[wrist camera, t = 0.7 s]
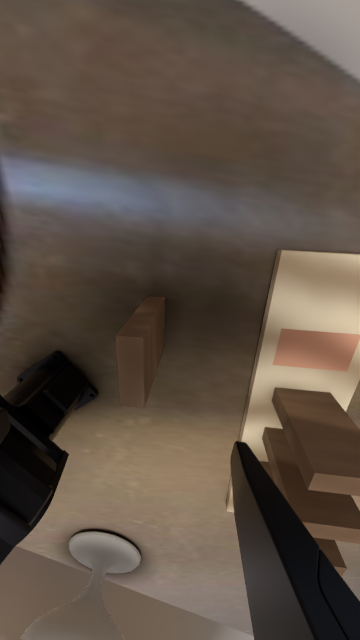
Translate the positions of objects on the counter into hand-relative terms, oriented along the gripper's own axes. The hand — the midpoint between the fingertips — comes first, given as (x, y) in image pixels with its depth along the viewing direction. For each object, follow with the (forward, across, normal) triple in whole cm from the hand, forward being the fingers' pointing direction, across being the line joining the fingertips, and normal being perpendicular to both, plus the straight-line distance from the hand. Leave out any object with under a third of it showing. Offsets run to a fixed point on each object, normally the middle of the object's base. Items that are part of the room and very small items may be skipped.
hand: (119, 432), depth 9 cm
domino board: (+12, -14, +9) cm, 21 cm away
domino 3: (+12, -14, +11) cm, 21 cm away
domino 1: (+13, +1, 0) cm, 13 cm away
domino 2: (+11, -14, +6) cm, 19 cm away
